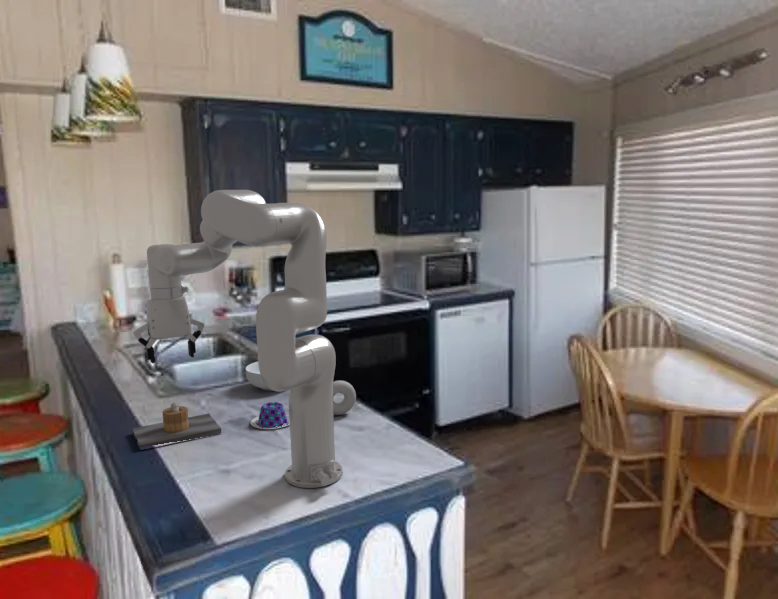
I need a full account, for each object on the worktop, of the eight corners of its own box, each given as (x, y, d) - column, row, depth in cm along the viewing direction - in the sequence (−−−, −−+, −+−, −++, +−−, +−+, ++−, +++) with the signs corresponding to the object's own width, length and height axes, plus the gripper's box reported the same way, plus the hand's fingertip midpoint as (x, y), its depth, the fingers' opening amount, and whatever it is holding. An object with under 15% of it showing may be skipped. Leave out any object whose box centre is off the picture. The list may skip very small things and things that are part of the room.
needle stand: (221, 433, 160) (219, 402, 159) (140, 451, 150) (137, 418, 149) (209, 418, 171) (207, 389, 170) (132, 433, 161) (129, 403, 160)
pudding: (250, 417, 172) (249, 399, 171) (293, 413, 175) (292, 396, 174) (250, 433, 161) (249, 414, 160) (296, 429, 163) (295, 410, 162)
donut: (323, 419, 169) (322, 384, 167) (320, 415, 172) (319, 381, 170) (358, 414, 172) (357, 380, 170) (354, 410, 175) (353, 376, 174)
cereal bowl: (246, 397, 189) (244, 375, 187) (247, 381, 205) (245, 361, 204) (301, 392, 192) (300, 370, 191) (298, 377, 208) (297, 357, 207)
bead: (190, 429, 159) (189, 411, 159) (166, 434, 156) (165, 415, 156) (185, 422, 164) (184, 404, 164) (162, 427, 161) (160, 409, 161)
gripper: (197, 288, 162) (202, 351, 165) (127, 295, 153) (134, 361, 156) (204, 291, 155) (209, 357, 158) (131, 299, 147) (138, 368, 150)
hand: (172, 359), depth 157 cm, fingers open, 9 cm apart
